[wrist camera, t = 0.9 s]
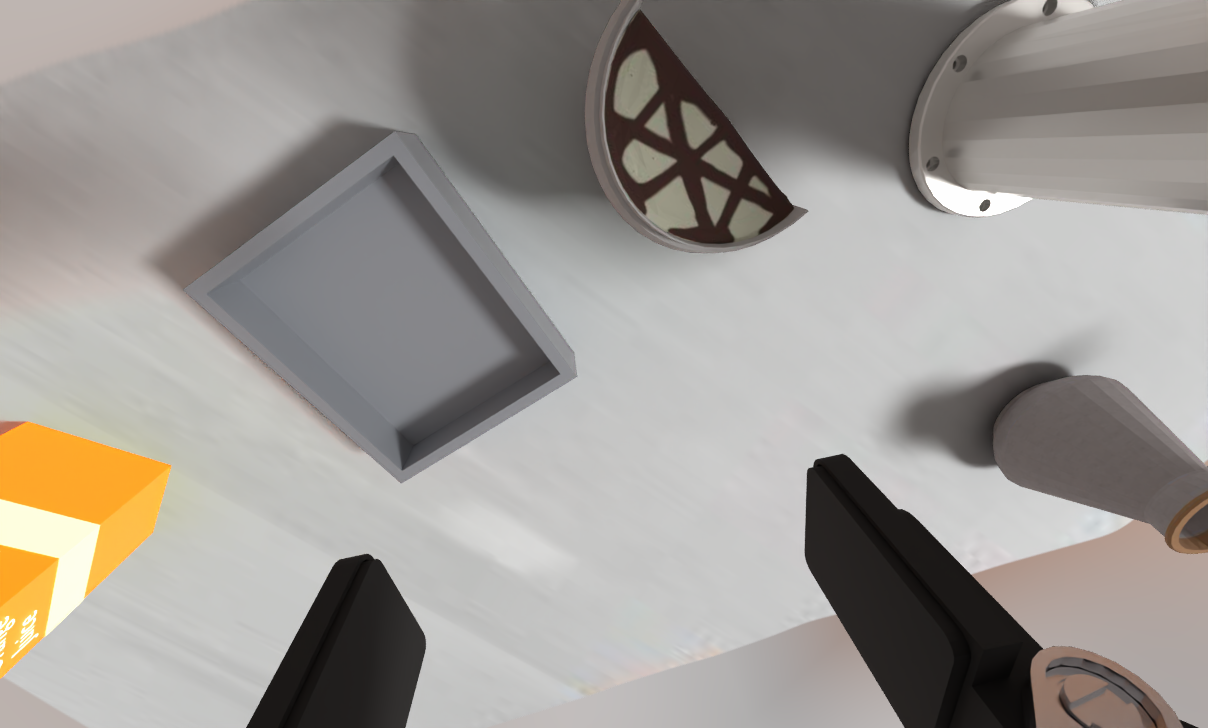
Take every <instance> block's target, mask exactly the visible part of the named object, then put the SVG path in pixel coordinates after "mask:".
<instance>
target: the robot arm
mask: <svg viewBox="0 0 1208 728" xmlns="http://www.w3.org/2000/svg"><path fill="white" fill-rule="evenodd" d="M909 160H910V165H911V170H912V175H913V177H914V180H915V182H916V184H917V186H918V189H919V190H920V192H921V193H922V194H923V195H924V197H925V198H926V199H927V201H929V202H930V203H931V204H933V205H934V206H935V207H937V208H938V209H940V210H942V211H945V212H947V213H950V214H954V215H960V216H966V217H987V216H992V215H997V214H1001V213H1003V212H1006V211H1009V210H1011V209H1014V208H1016V207H1018V206H1020V205H1022V204H1023V203H1025V202H1027V201H1029V200H1030V199H1032V198H1033V199H1044V200H1054V201H1065V202H1076V203H1086V204H1097V205H1108V206H1118V207H1129V208H1140V209H1150V210H1161V211H1172V212H1182V213H1193V214H1203V215H1208V0H1121V1H1117V2H1114V3H1110V4H1106V5H1102V6H1099V7H1094V6H1093V5H1092V4H1091V3H1090V2H1089V1H1087V0H1010V1H1008V2H1005V3H1003V4H1001V5H998V6H996V7H995V8H993V9H991V10H990V11H988V12H987V13H985V14H984V15H982V16H981V17H979V18H977V19H976V20H975V21H974V22H973V23H972V24H971V25H970V26H968V27H967V28H966V29H965V30H964V31H963V32H962V33H961V34H959V35H958V37H957V38H956V39H955V40H954V41H953V42H952V44H951V45H950V46H949V47H948V48H947V50H946V51H945V52H944V53H943V54H942V56H941V57H940V59H939V61H938V62H937V64H936V65H935V67H934V68H933V70H932V71H931V73H930V75H929V77H928V79H927V81H926V83H925V85H924V87H923V89H922V91H921V94H920V96H919V99H918V102H917V105H916V108H915V111H914V114H913V117H912V123H911V130H910V136H909ZM805 558H806V562H807V565H808V567H809V569H810V571H811V573H812V574H813V576H814V578H815V579H816V581H817V583H818V584H819V586H820V588H821V589H822V591H823V593H824V594H825V596H826V598H827V599H828V601H829V603H830V604H831V606H832V608H833V609H834V611H835V613H836V614H837V616H838V618H839V619H840V621H841V623H842V624H843V626H844V627H845V629H846V631H847V633H848V634H849V636H850V638H851V639H852V641H853V643H854V644H855V646H856V647H857V649H858V651H859V652H860V654H861V656H862V657H863V659H864V661H865V662H866V664H867V666H868V667H869V669H870V671H871V672H872V674H873V676H874V677H875V679H876V681H877V682H878V684H879V686H880V687H881V689H882V691H883V692H884V694H885V696H886V697H887V699H888V701H889V702H890V704H891V706H892V707H893V709H894V711H895V712H896V714H897V716H898V717H899V719H900V721H901V722H902V724H903V725H904V727H905V728H1198V727H1195V726H1193V725H1191V724H1188V723H1186V722H1184V721H1181V720H1179V719H1178V717H1177V715H1176V713H1175V712H1174V711H1173V709H1172V708H1171V707H1170V706H1169V705H1168V704H1167V702H1166V701H1165V700H1164V699H1163V698H1162V697H1161V696H1160V695H1159V693H1158V692H1156V691H1155V690H1154V689H1153V688H1152V687H1150V686H1149V685H1148V684H1147V683H1146V682H1144V681H1143V680H1142V679H1141V678H1140V677H1138V676H1137V675H1135V674H1134V673H1132V672H1130V671H1129V670H1127V669H1125V668H1124V667H1122V666H1121V665H1119V664H1117V663H1116V662H1114V661H1112V660H1109V659H1107V658H1105V657H1102V656H1100V655H1098V654H1096V653H1093V652H1090V651H1086V650H1082V649H1078V648H1074V647H1065V646H1052V647H1049V648H1046V649H1043V648H1042V647H1041V646H1040V645H1039V644H1038V643H1037V642H1036V641H1035V640H1034V639H1033V638H1032V637H1031V636H1030V635H1029V634H1028V633H1027V632H1026V631H1025V630H1024V629H1023V628H1022V627H1021V626H1020V625H1019V624H1018V623H1017V622H1016V621H1015V620H1014V619H1013V617H1012V616H1011V615H1010V614H1009V613H1008V612H1007V611H1006V610H1005V609H1004V608H1003V607H1002V606H1001V605H1000V604H999V603H998V602H997V601H996V600H995V599H994V598H993V597H992V596H991V595H990V594H989V593H988V592H987V591H986V590H985V589H984V588H983V587H982V586H981V585H980V584H979V583H978V582H977V581H976V580H975V578H974V577H973V576H972V575H971V574H970V573H969V572H968V571H967V570H966V569H965V568H964V567H963V566H962V565H961V564H960V563H959V562H958V561H957V560H956V559H955V558H954V557H953V556H952V555H951V554H950V553H949V552H948V551H947V550H946V549H945V548H944V547H943V546H942V545H941V544H940V543H939V541H938V540H937V539H936V538H935V537H934V536H933V535H932V534H931V533H930V532H929V531H928V530H927V529H926V528H925V527H924V526H923V525H922V524H921V523H920V522H919V521H918V520H917V519H916V518H915V517H914V516H913V515H911V514H910V513H909V512H907V511H905V510H903V509H897V508H896V507H895V506H894V505H893V504H892V502H891V501H890V500H889V499H888V498H887V497H886V496H885V495H884V494H883V493H882V492H881V491H880V490H879V489H878V488H877V487H876V486H875V485H874V483H873V482H872V481H871V480H870V479H869V478H868V477H867V476H866V475H865V474H864V473H863V472H862V471H861V470H860V469H859V468H858V467H857V466H856V465H855V463H854V462H853V461H852V460H851V459H850V458H849V457H847V456H846V455H844V454H840V455H835V456H831V457H826V458H821V459H817V460H815V462H814V466H813V467H812V468H809V469H808V470H807V492H806V525H805ZM425 649H426V639H425V635H424V633H423V631H422V629H421V628H420V626H419V624H418V623H417V621H416V619H415V618H414V616H413V614H412V612H411V611H410V609H409V607H408V606H407V604H406V602H405V601H404V599H403V597H402V596H401V594H400V592H399V591H398V589H397V587H396V585H395V584H394V582H393V580H392V579H391V577H390V575H389V574H388V572H387V570H386V569H385V567H384V565H383V564H382V562H381V561H380V560H379V559H374V558H373V557H372V556H371V555H369V554H364V555H359V556H354V557H350V558H345V559H340V560H338V561H337V562H336V563H335V564H334V566H333V567H332V569H331V571H330V573H329V575H328V577H327V578H326V580H325V582H324V584H323V586H322V588H321V590H320V591H319V593H318V595H317V597H316V599H315V601H314V603H313V604H312V606H311V608H310V610H309V612H308V614H307V616H306V617H305V619H304V621H303V623H302V625H301V627H300V629H299V631H298V632H297V634H296V636H295V638H294V640H293V642H292V644H291V645H290V647H289V649H288V651H287V653H286V655H285V657H284V658H283V660H282V662H281V664H280V666H279V668H278V670H277V671H276V673H275V675H274V677H273V679H272V681H271V683H270V684H269V686H268V688H267V690H266V692H265V694H264V696H263V697H262V699H261V701H260V703H259V705H258V707H257V709H256V711H255V712H254V714H253V716H252V718H251V720H250V722H249V724H248V725H247V727H246V728H405V727H406V723H407V719H408V715H409V711H410V708H411V704H412V700H413V696H414V692H415V689H416V685H417V681H418V677H419V673H420V670H421V666H422V662H423V658H424V654H425Z"/></svg>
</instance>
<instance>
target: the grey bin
mask: <svg viewBox="0 0 1208 728" xmlns="http://www.w3.org/2000/svg"><path fill="white" fill-rule="evenodd" d="M183 291H185V292H186V293H187V294H188V295H189V296H190V297H191V298H192V299H194V300H195V301H196V302H197V303H198V304H199V305H200V306H201V307H203V308H204V309H205V310H206V311H207V312H208V313H209V314H211V315H212V316H213V317H214V318H215V319H216V320H217V321H218V322H220V323H221V324H222V325H223V326H224V327H225V328H226V329H227V330H229V331H230V332H231V333H232V334H233V335H234V336H235V337H236V338H238V339H239V340H240V341H241V342H242V343H243V344H244V345H245V346H247V347H248V348H249V349H250V350H251V351H252V352H253V353H255V354H256V355H257V356H258V357H259V358H260V359H261V360H262V361H264V362H265V363H266V364H267V365H268V366H269V367H270V368H271V369H273V370H274V371H275V372H276V373H277V374H278V375H279V376H280V377H282V378H283V379H284V380H285V381H286V382H287V383H288V384H289V385H291V386H292V387H293V388H294V389H295V390H296V391H297V392H299V393H300V394H301V395H302V396H303V397H304V398H305V399H306V400H308V401H309V402H310V403H311V404H312V405H313V406H314V407H315V408H317V409H318V410H319V411H320V412H321V413H322V414H323V415H324V416H326V417H327V418H328V419H329V420H330V421H331V422H332V423H333V424H335V425H336V426H337V427H338V428H339V429H340V430H341V431H343V432H344V433H345V434H346V435H347V436H348V437H349V438H350V439H352V440H353V441H354V442H355V443H356V444H357V445H358V446H359V447H361V448H362V449H363V450H364V451H365V452H366V453H367V454H368V455H370V456H371V457H372V458H373V459H374V460H375V461H376V462H377V463H379V464H380V465H381V466H382V467H383V468H384V469H385V470H387V471H388V472H389V473H390V474H391V475H392V476H393V477H394V478H396V479H397V480H398V481H399V482H400V483H403V482H405V481H406V480H408V479H410V478H411V477H413V476H415V475H416V474H418V473H419V472H421V471H423V470H424V469H426V468H428V467H429V466H431V465H433V464H434V463H436V462H438V461H439V460H441V459H442V458H444V457H446V456H447V455H449V454H451V453H452V452H454V451H456V450H457V449H459V448H461V447H462V446H464V445H466V444H467V443H469V442H470V441H472V440H474V439H475V438H477V437H479V436H480V435H482V434H484V433H485V432H487V431H489V430H490V429H492V428H494V427H495V426H497V425H498V424H500V423H502V422H503V421H505V420H507V419H508V418H510V417H512V416H513V415H515V414H517V413H518V412H520V411H522V410H523V409H525V408H526V407H528V406H530V405H531V404H533V403H535V402H536V401H538V400H540V399H541V398H543V397H545V396H546V395H548V394H549V393H551V392H553V391H554V390H556V389H558V388H559V387H561V386H563V385H564V384H566V383H568V382H569V381H571V380H573V379H574V378H576V377H577V372H576V364H575V356H574V352H573V350H572V349H571V348H570V346H569V345H568V343H567V342H566V341H565V339H564V338H563V337H562V335H561V334H560V332H559V331H558V330H557V328H556V327H555V326H554V324H553V323H552V321H551V320H550V319H549V317H548V316H547V315H546V313H545V312H544V310H543V309H542V308H541V306H540V305H539V304H538V302H537V301H536V299H535V298H534V297H533V295H532V294H531V292H530V291H529V290H528V288H527V287H526V286H525V284H524V283H523V281H522V280H521V279H520V277H519V276H518V275H517V273H516V272H515V270H514V269H513V268H512V266H511V265H510V264H509V262H508V261H507V259H506V258H505V257H504V255H503V254H502V253H501V251H500V250H499V248H498V247H497V246H496V244H495V243H494V242H493V240H492V239H491V237H490V236H489V235H488V233H487V232H486V230H485V229H484V228H483V226H482V225H481V224H480V222H479V221H478V219H477V218H476V217H475V215H474V214H473V213H472V211H471V210H470V208H469V207H468V206H467V204H466V203H465V202H464V200H463V199H462V197H461V196H460V195H459V193H458V192H457V191H456V189H455V188H454V186H453V185H452V184H451V182H450V181H449V179H448V178H447V177H446V175H445V174H444V173H443V171H442V170H441V168H440V167H439V166H438V164H437V163H436V162H435V160H434V159H433V157H432V156H431V155H430V153H429V152H428V151H427V149H426V148H425V146H424V145H423V144H422V142H421V141H420V140H419V138H418V137H417V135H416V134H410V133H403V132H396V131H394V132H393V133H391V134H390V135H389V136H387V137H386V138H385V139H383V140H382V141H381V142H379V143H378V144H377V145H375V146H374V147H373V148H371V149H370V150H369V151H367V152H366V153H365V154H363V155H362V156H361V157H359V158H358V159H357V160H355V161H354V162H353V163H351V164H350V165H349V166H347V167H346V168H345V169H343V170H342V171H341V172H339V173H338V174H337V175H335V176H334V177H333V178H331V179H330V180H329V181H327V182H326V183H325V184H323V185H322V186H321V187H319V188H318V189H317V190H315V191H314V192H313V193H311V194H310V195H309V196H307V197H306V198H305V199H303V200H302V201H301V202H299V203H298V204H297V205H295V206H294V207H293V208H291V209H290V210H289V211H287V212H286V213H285V214H283V215H282V216H281V217H279V218H278V219H277V220H275V221H274V222H273V223H271V224H270V225H269V226H267V227H266V228H265V229H263V230H262V231H261V232H259V233H258V234H257V235H255V236H254V237H253V238H251V239H250V240H249V241H247V242H246V243H245V244H243V245H242V246H241V247H239V248H238V249H237V250H235V251H234V252H233V253H231V254H230V255H229V256H227V257H226V258H225V259H223V260H222V261H221V262H219V263H218V264H217V265H215V266H214V267H213V268H211V269H210V270H209V271H207V272H206V273H205V274H203V275H202V276H201V277H199V278H198V279H197V280H195V281H194V282H193V283H191V284H190V285H189V286H187V287H186V288H185V289H183Z"/></svg>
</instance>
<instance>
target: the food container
mask: <svg viewBox="0 0 1208 728" xmlns="http://www.w3.org/2000/svg"><path fill="white" fill-rule="evenodd" d="M641 4H642V0H622V1H621V3H620V4H619V6H618V7H617V9H616V10H615V12H614V13H613V15H612V16H611V18H610V19H609V21H608V24H607V26H606V28H605V30H604V32H603V34H602V36H601V38H600V40H599V42H598V45H597V48H596V51H595V55H594V58H593V61H592V64H591V67H590V72H589V77H588V83H587V89H586V95H585V129H586V138H587V146H588V150H589V154H590V158H591V162H592V166H593V169H594V171H595V174H596V176H597V178H598V181H599V183H600V186H601V188H602V189H603V191H604V193H605V194H606V196H607V198H608V199H609V201H610V203H611V204H612V206H613V207H614V208H615V209H616V211H617V212H618V213H619V214H620V215H621V217H622V218H623V219H624V220H625V221H626V222H627V223H628V224H630V225H631V226H632V227H633V228H634V229H635V230H637V231H638V232H639V233H640V234H642V235H644V236H645V237H647V238H649V239H650V240H652V241H654V242H656V243H658V244H661V245H663V246H666V247H669V248H671V249H675V250H680V251H685V252H691V253H721V252H729V251H736V250H740V249H743V248H747V247H750V246H754V245H756V244H758V243H760V242H763V241H765V240H767V239H769V238H771V237H773V236H775V235H776V234H778V233H780V232H781V231H783V230H784V229H786V228H787V227H789V226H791V225H792V224H794V223H795V222H796V221H797V220H799V219H800V218H801V217H802V216H803V215H804V214H806V213H807V212H808V210H806V209H803V208H800V207H797V206H794V205H792V204H791V203H790V202H789V200H788V198H787V196H786V195H785V194H784V193H782V192H781V191H780V189H779V188H778V187H777V186H776V185H775V183H774V182H773V181H772V179H771V178H770V177H769V175H768V174H767V173H766V171H765V170H764V169H763V167H762V166H761V165H760V163H759V162H758V161H757V159H756V158H755V157H754V155H753V154H752V152H751V151H750V150H749V148H748V147H747V145H746V144H745V143H744V141H743V140H742V138H741V137H740V135H739V134H738V133H737V131H736V130H735V128H734V127H733V125H732V124H731V123H730V121H729V120H728V118H727V117H726V116H725V115H724V114H723V112H722V111H721V110H720V109H719V108H718V106H717V105H716V104H715V103H714V102H713V101H712V99H711V98H710V97H709V96H708V95H707V94H706V92H705V91H704V90H703V89H702V87H701V86H700V85H699V84H698V82H697V81H696V80H695V79H694V78H693V76H692V75H691V74H690V73H689V71H688V70H687V69H686V68H685V66H684V65H683V64H682V63H681V61H680V60H679V59H678V57H677V56H676V55H675V54H674V52H673V51H672V50H671V48H670V47H669V46H668V44H667V43H666V42H665V41H664V39H663V38H662V37H661V35H660V34H659V33H658V32H657V30H656V29H655V28H654V27H653V25H652V24H651V23H650V21H649V20H648V19H647V18H646V16H645V15H644V14H643V13H642V11H641V10H640V7H641Z"/></svg>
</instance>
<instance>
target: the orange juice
mask: <svg viewBox="0 0 1208 728" xmlns="http://www.w3.org/2000/svg"><path fill="white" fill-rule="evenodd" d="M170 469H171V465H168V464H165V463H162V462H158V461H155V460H152V459H149V458H145V457H142V456H139V455H135V454H132V453H129V452H126V451H122V450H119V449H116V448H113V447H109V446H106V445H103V444H99V443H96V442H93V441H90V440H86V439H83V438H80V437H77V436H73V435H70V434H67V433H63V432H60V431H57V430H54V429H50V428H47V427H44V426H41V425H37V424H34V423H31V422H26V423H24V424H22V425H20V426H18V427H16V428H14V429H12V430H10V431H8V432H6V433H4V434H2V435H0V678H2V677H3V676H4V675H5V674H6V673H7V672H8V671H9V670H10V669H11V668H12V667H13V666H14V665H15V664H16V663H17V662H18V661H19V660H20V659H21V658H22V657H23V656H24V655H26V654H27V653H28V652H29V651H30V650H31V649H32V648H33V647H34V646H35V645H36V644H37V643H38V642H39V641H40V640H41V639H42V638H43V637H44V636H47V635H48V634H49V633H50V632H51V631H52V630H53V629H54V628H55V627H56V626H57V625H58V624H59V623H60V622H61V621H62V620H63V619H64V618H65V617H66V616H67V615H68V614H69V613H71V612H72V611H73V610H74V609H75V608H76V607H77V606H78V605H79V604H80V603H81V602H82V601H83V600H84V598H85V597H86V596H87V595H88V594H89V593H90V592H91V591H92V590H93V589H94V588H95V587H96V586H97V585H98V584H100V583H101V582H102V581H103V580H104V579H105V578H106V577H107V576H108V575H109V574H110V573H111V572H112V571H113V570H114V569H115V568H116V567H117V566H118V565H119V564H120V563H121V562H122V561H124V560H125V559H126V558H127V557H128V556H129V555H130V554H131V553H132V552H133V551H134V550H135V549H136V548H137V547H138V546H139V545H140V544H141V543H142V542H143V541H144V540H145V539H146V538H147V537H149V536H150V535H151V534H152V533H153V529H154V526H155V522H156V519H157V515H158V512H159V508H160V504H161V501H162V497H163V494H164V490H165V486H166V483H167V479H168V476H169V472H170Z"/></svg>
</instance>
